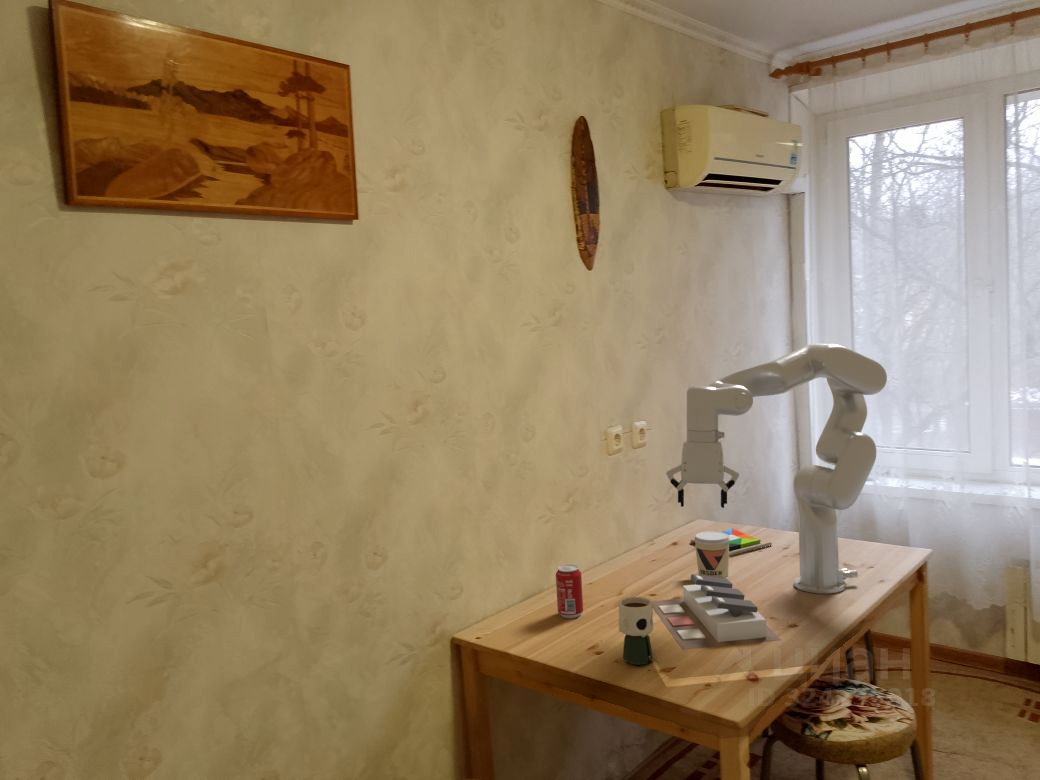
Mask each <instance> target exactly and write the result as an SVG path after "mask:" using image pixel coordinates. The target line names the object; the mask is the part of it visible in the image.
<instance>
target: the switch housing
mask: <svg viewBox="0 0 1040 780" xmlns="http://www.w3.org/2000/svg"><path fill="white" fill-rule="evenodd" d="M682 586H683V587H682V588H683V598H684V602H685V603H686V604H687V606H688V607H689V608H690V609H691V610H692V612H693V613H694V614H695V615H696V616H697V618H698V619H699V620H700V621H701V622H702V624H703V625H704V626H705V627H706V628H707V630H708V631H709V632H710V633H711V634H712V636H713V637H714V638H715V639H716V640H717V642H723V641H733V640H744V639H754V638H765V637H767V632H766V625H767V619H766V618H765V617H764V616H763V615H762V613H760V612H759V611H757V613H755V612H747V611H742V613H741V615H740V616H737V617H735V616H733V615H732V614H731V613H730V612H729V611H728V610H727V609H722V608H717V607H716V606H715V605H714V604H713V602H712V601H711V600H712V596H706V595H705V594H704V593H703V592H702V591H701V585H696V584H695V583H694V584H685V585H682ZM744 600H746V599H745V598H744Z"/></svg>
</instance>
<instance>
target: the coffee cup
mask: <svg viewBox="0 0 1040 780" xmlns="http://www.w3.org/2000/svg"><path fill="white" fill-rule="evenodd" d="M693 539H694V540H695V543H694V544H695V554H696V564H697V571H698V572H697V573H698V575H702V576H711V577H719V578H728V577H729V565H730V564H729V562H730V561H729V559H730V556H729V541H730V538H729V536H728V535H727V534H726V533H723V532H719V531H717V530H714V531H712V530H708V531H707V530H706V531H701V532H698V533H696V534H695V536H694V538H693Z"/></svg>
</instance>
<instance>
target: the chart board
mask: <svg viewBox="0 0 1040 780" xmlns="http://www.w3.org/2000/svg"><path fill="white" fill-rule="evenodd" d="M651 601H652V608H653V611H655V613H656V614H657V616H658V617H659V618H660V620H661V621H662V623H663V624H664V625H665V627H666V629H667V630H668V631H669V633H670V634H671V636H672V637H673V639H674V640H675V641H676V643H677V644H678V645H679V647H680V648H681V650H690V649H702V648H703V649H704V648H711V647H720V646H721V647H722V646H732V645H733V646H734V645H743V644H745V645H746V644H753V643H755V644H756V643H763V642H764V643H766V642H775V641H782V639H781V638H780V636H779V635H777V634H776V633H775V632H774V631H773V630H772V629H771V628H770V627H769V626H768V625H767V624H766V632H767V637H765V638H754V639H744V640H733V641H723V642H717V640H716V639H715V638H714V637H713V636H712V634H711V633H710V632H709V631H708V630H707V628H706V627H705V626H704V625H703V624H702V622H701V621H700V620H699V619H698V618H697V616H696V615H695V614H694V613H693V612H692V610H691V609H690V608H689V607H688V606H687V604H686V603H685V602H684V597H683V598H672V599H661V600H660V599H659V600H651Z"/></svg>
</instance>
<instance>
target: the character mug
mask: <svg viewBox="0 0 1040 780" xmlns="http://www.w3.org/2000/svg"><path fill="white" fill-rule="evenodd" d="M652 601H653V600H651V599H650V598H647V597H644V596H627V597H624V598H621V599H620V600H618V620H617V621H618V631H619V632H620V633H622V634H624V639H623V650H622V651H623V653H622V659H623V660H624V661H625V662H628V663H630V664H632V665H635V666H636V665H638V666H639V665H640V666H642V665H646V664H648V663H649V660H650V662H652V661H653V659H654V657H653V655H654V654H653V649H652V644H651V639H650V636H649V635H650V634H652V632H653V630H654V615H653V614H654V609H653V607H652ZM649 658H650V659H649Z"/></svg>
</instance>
